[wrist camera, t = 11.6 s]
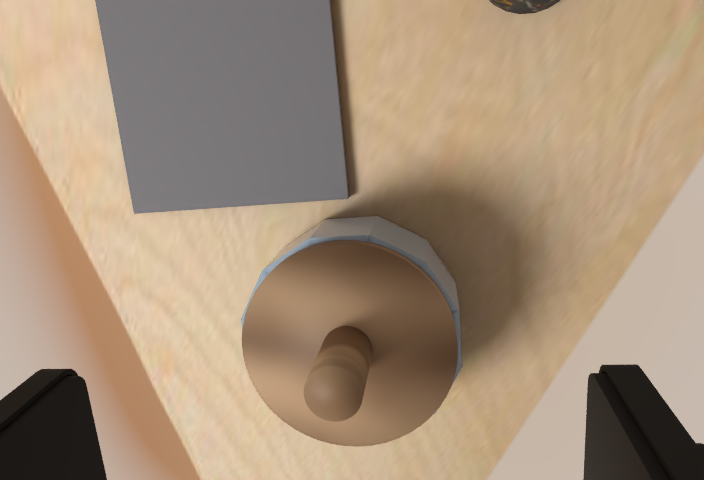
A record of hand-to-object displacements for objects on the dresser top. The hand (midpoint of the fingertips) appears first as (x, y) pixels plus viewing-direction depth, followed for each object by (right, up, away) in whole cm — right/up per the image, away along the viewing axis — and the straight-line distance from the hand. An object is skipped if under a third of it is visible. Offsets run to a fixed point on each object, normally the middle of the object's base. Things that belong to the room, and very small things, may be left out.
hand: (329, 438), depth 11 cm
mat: (-7, +13, +25) cm, 29 cm away
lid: (0, -2, +22) cm, 23 cm away
